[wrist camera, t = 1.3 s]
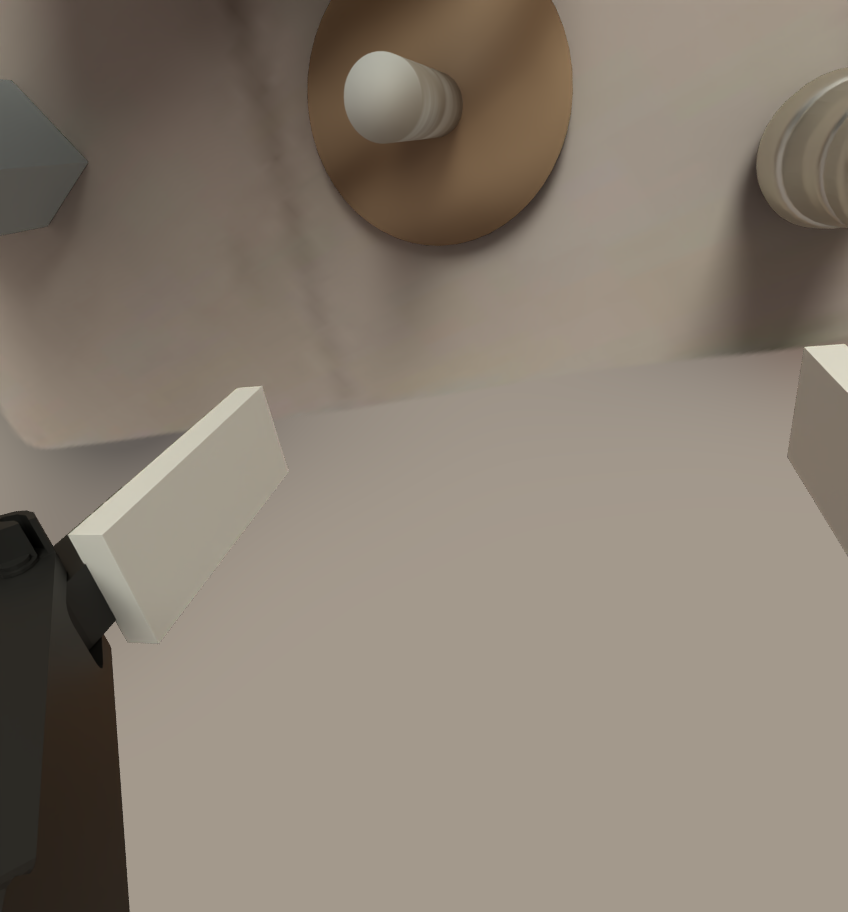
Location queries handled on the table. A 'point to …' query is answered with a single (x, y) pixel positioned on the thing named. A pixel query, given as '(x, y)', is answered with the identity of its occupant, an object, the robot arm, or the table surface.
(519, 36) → the peg stand
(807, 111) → the plastic bottle
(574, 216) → the table surface
